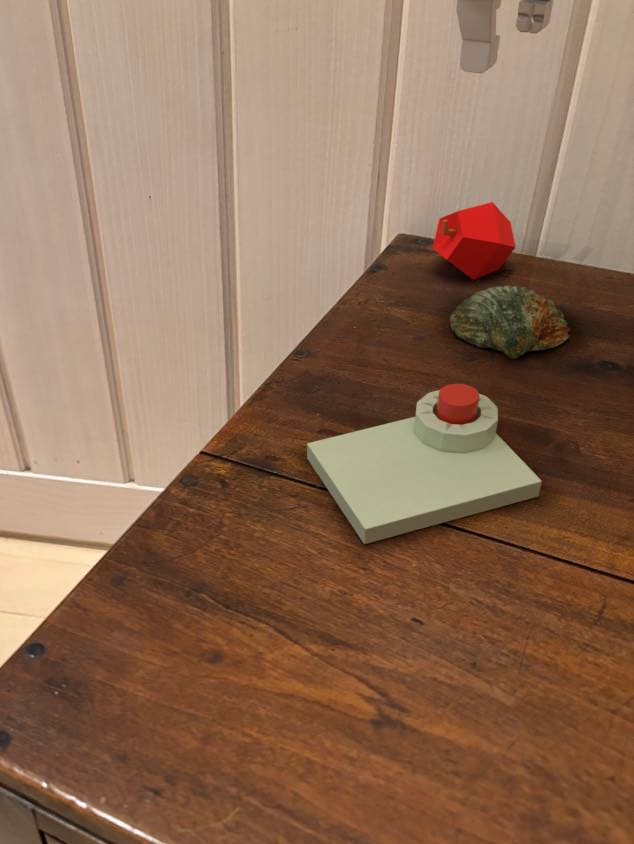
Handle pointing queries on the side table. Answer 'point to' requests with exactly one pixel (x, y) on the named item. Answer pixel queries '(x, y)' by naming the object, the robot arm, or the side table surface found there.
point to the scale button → (457, 404)
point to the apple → (475, 239)
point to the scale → (421, 471)
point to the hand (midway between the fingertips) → (505, 49)
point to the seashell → (510, 321)
